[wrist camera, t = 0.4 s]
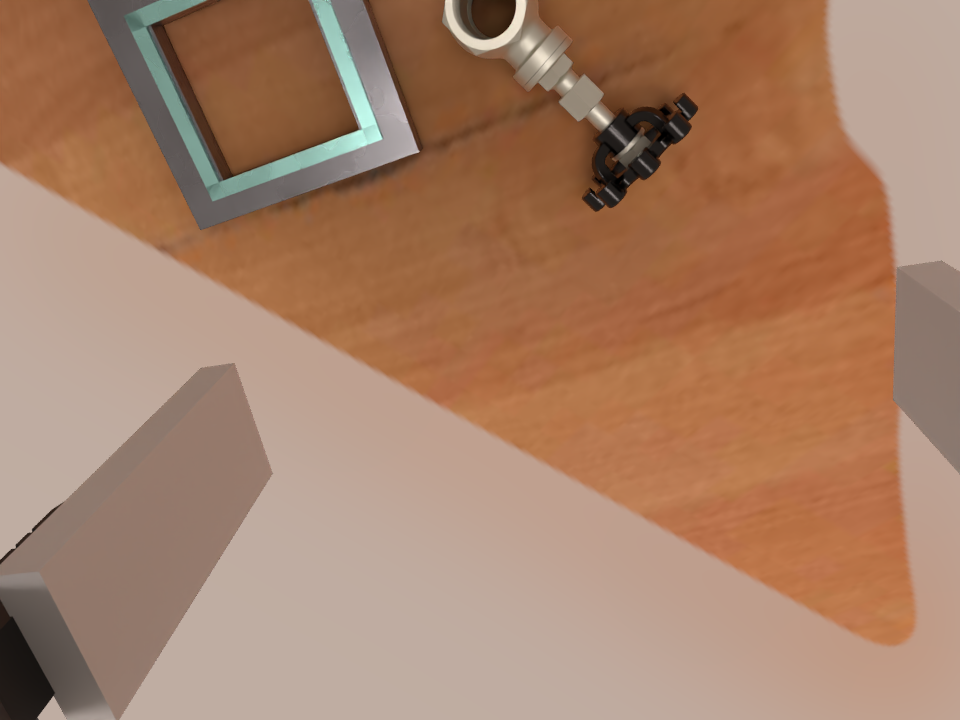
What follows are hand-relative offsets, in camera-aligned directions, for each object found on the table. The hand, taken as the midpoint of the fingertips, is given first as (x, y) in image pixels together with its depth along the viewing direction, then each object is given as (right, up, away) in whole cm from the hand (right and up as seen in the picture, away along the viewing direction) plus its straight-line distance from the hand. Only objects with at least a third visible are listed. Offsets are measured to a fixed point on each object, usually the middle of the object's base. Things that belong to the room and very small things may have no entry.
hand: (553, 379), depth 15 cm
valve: (+2, +15, +23) cm, 27 cm away
